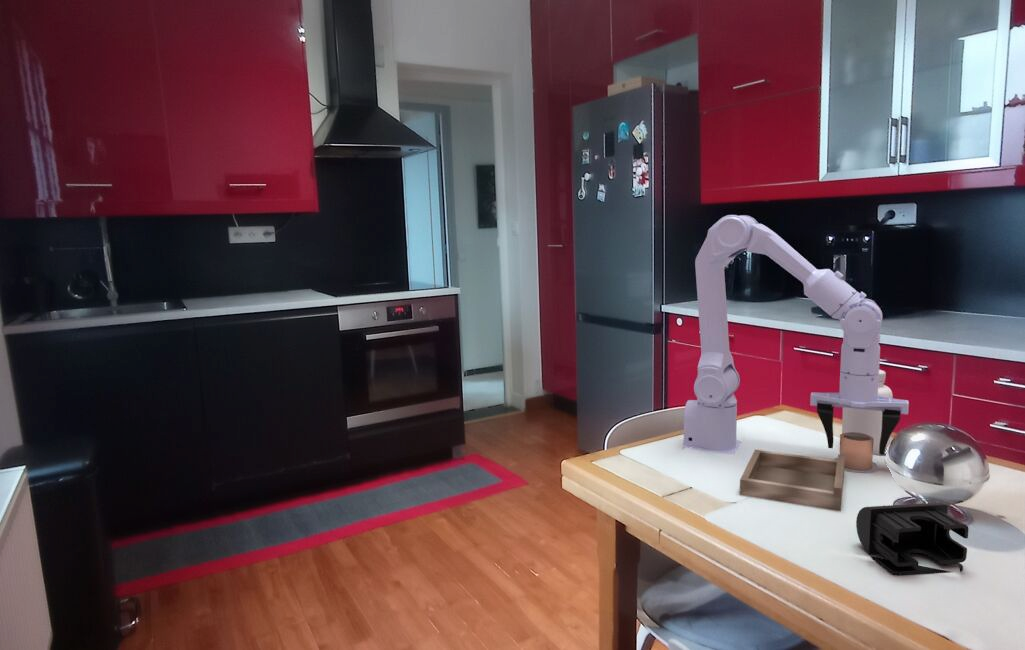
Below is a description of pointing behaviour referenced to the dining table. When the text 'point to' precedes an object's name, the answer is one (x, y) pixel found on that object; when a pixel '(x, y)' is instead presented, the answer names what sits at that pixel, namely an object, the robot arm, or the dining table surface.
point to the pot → (857, 450)
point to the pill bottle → (868, 418)
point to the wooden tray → (794, 479)
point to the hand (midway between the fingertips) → (855, 449)
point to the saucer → (874, 469)
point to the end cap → (911, 536)
